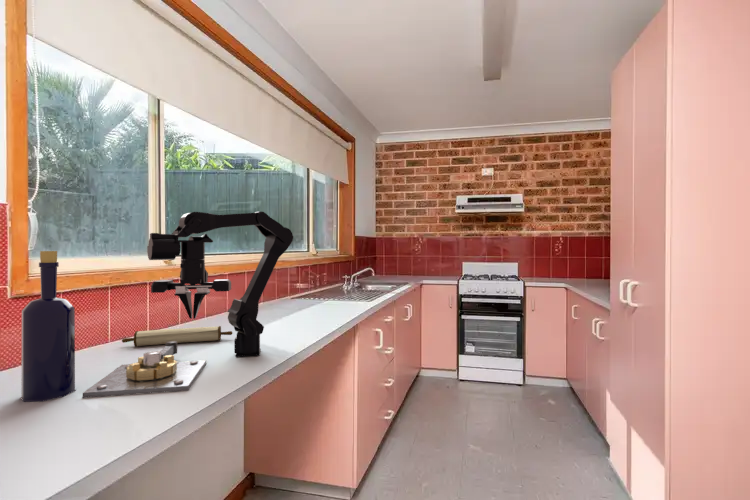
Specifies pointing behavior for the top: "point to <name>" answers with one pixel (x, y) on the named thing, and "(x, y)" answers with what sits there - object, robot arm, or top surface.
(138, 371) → the lever handle
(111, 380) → the flange plate
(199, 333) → the rolling pin
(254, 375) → the top surface
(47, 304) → the bottle
